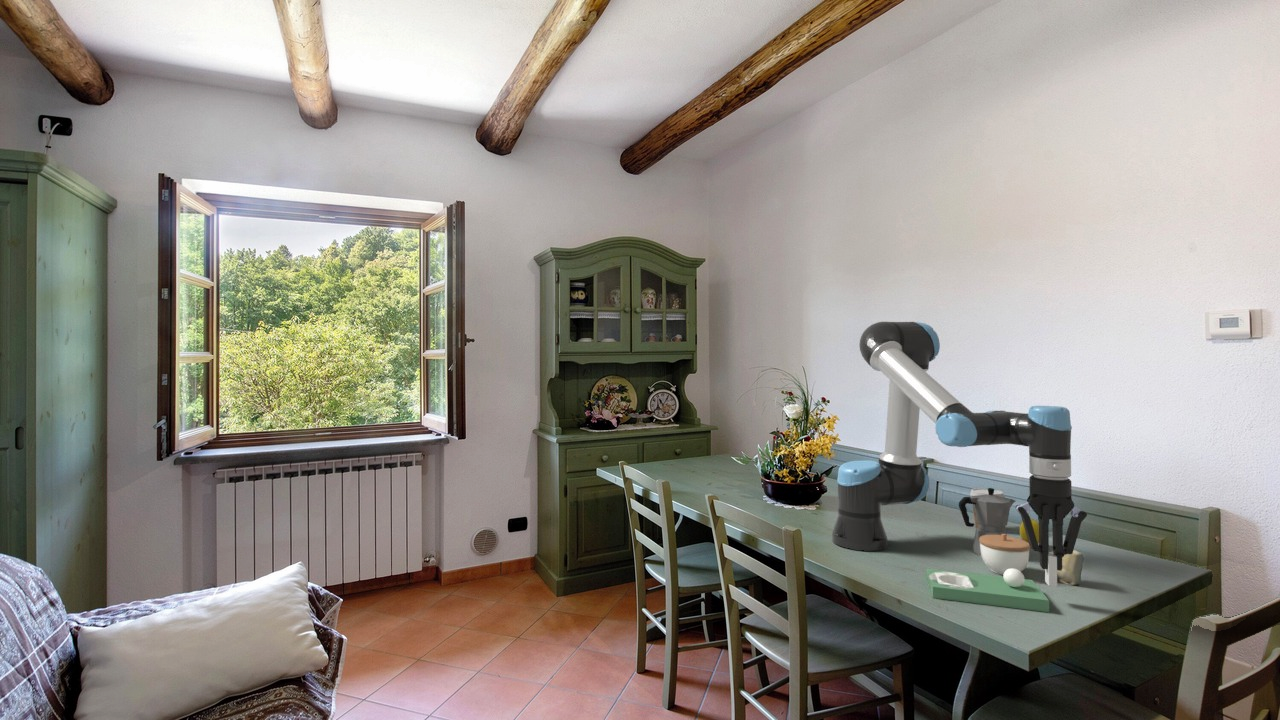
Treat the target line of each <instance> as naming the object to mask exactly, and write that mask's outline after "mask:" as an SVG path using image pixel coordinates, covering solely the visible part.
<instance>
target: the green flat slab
mask: <svg viewBox="0 0 1280 720" xmlns="http://www.w3.org/2000/svg"><path fill="white" fill-rule="evenodd" d="M925 570H926V571H925V572H926V575H925V576H926V582H927V585H928V588H929V590H930V591H929V592H930V594H931V596H932V599H938V600H948V601H954V602H962V603H970V604H971V603H972V604H980V605H988V606H995V607H1004V608H1013V609H1021V610H1028V611H1029V610H1030V611H1034V612H1035V611H1037V612H1043V613H1049V612H1050V600H1049V598H1048V597H1047V596H1046V595H1045V594H1044V592H1043V591H1042V590H1041V589H1040V587H1038V585H1037V583H1035V582H1034V580H1033V579H1027V578H1024V579H1025V581H1024V584H1023V585H1022V586H1020V587H1011V586H1009V585H1008V584H1007V583H1006V582H1005V581H1004V578H1003V576H998V575H990V574H989V575H988V574H979V573H973V572H961V571H955V570H954V571H952V570H941V569H933V568H926V569H925Z"/></svg>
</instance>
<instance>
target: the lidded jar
mask: <svg viewBox="0 0 1280 720" xmlns="http://www.w3.org/2000/svg"><path fill="white" fill-rule="evenodd" d="M979 541H980V551H981V559H982V560H983V562H984V564H985V565H986V566H987V567H988V568H989V570H990V571H991V572H992V573H995V574H997V575H1001V576H1003V574H1004V572H1005V571H1006V570H1007V569H1010V568H1014V569H1017V570H1019V571H1020V572H1021V573H1022V572H1023V571H1024V570H1025V569H1026V567H1027V566H1028V563H1029V558H1030V548H1031V547H1030V545H1029V543H1028V542H1026V541H1024V540H1022V538H1018V537H1014V536H1009V535H1007V536H1006V534H1002V535H983V536H981V537H980V538H979Z"/></svg>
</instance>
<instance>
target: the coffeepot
mask: <svg viewBox="0 0 1280 720" xmlns="http://www.w3.org/2000/svg"><path fill="white" fill-rule="evenodd" d="M987 489H988V493H989V494H987V495H978V496H972V497H971V496H963V497H962V498H961V499H960V501H958V508H959V511H960V514H961V516H962V520H963V521H964V524H965V526H966V527H968V528H969V527H970V528H974V526H975V522H974V523H971V522H970V517H969V513H968V509H967V506H966V505H967V504H969V505H972V506H973V505H974V511H975V517H976V521H977V528H976V527H975V534H974V537H973V545H972V551H973V553H974V552H975V553H974V554H976V555H978V554H979V555H978V556H980V555H981V551H980V541H979V538H980V537H981V536H983V535H1002V534H1006V536H1008V533H1007V530H1006V529H1007V528H1006V526H1008V523H1009V517H1010V516H1009V515H1010V511H1011V510H1010V509H1011V507H1012V506H1013V505H1014V503H1016V499H1013V498H1009V497H1005V498H1004V497H999V496H996V495H993V494H994V490H995V488H992V487H988V488H987ZM974 511H973V512H974Z"/></svg>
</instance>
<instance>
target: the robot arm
mask: <svg viewBox="0 0 1280 720" xmlns="http://www.w3.org/2000/svg"><path fill="white" fill-rule="evenodd" d="M940 342H941V341H940V338H939V335H938V333H937V332H936V330H935V329H934V328H933V327H932V326H931V325H929V324H927V323H925V322H917V321H916V322H915V321H878V322H875V323H872V324H871V325H869V326H868V327H867V328H866V329H864V331H863V333H862V334H861V336H860V339H859V345H858V346H859V351H860V354H861V356H862V358H863V360H864V361H865V362H866V363H867V365H869V366H870V367H871V368H872V369H873V370H874V371H877V372H881V373H882V374H883V375H885V377H886V378H888V379H889V384H888V396H887V397H888V401H887V414H886V415H887V416H886V428H885V441H884V442H885V443H884V444H885V445H884V452H882V453H881V454H879V455H878V461H875V460H868V459H867V460H866V459H865V460H864V459H863V460H851V461H847V462H843V464H841V465H840V466H839V468H838V471H837V478H836V479H837V508H838V509H837V512H838V513H837V517H836V520H835V524H834V526H833V528H832V531H831V532H832V533H831V540H832V543H834V544H835V545H837V546H839V547H841V546H842V548H844V547H845V549H848V548H850V550H853V551H862V550H864V551H863V552H871V551H873V552H875V551H876V552H877V551H882V550H885V549H886V548H887V547H888V536H887V534H886V533H887V532H886V531H885V527H884V524H883V521H882V517H881V509H882V508H881V507H882V506H890V505H892V506H893V505H909V504H911V503H916V502H917V503H918V502H919V501H921V500H923V499H924V498H925V496H926V495H927V494H928V491H929V487H930V477H929V474H927V470H926V468H925V467H924V466H923V465H922V460H921V459H920V457H918V456H917V453H918V452H917V450H918V437H919V436H918V434H919V421H920V410H921V411H922V412H923V413H924V414H925V415H926V416H927V417H928V418H929V419H930V420H931V421H932V422H933V423H935V427H934V429H935V434H936V435H937V439H938V440H939V441H940V442H941V444H943V445H945V446H947V447H958V448H966V447H967V448H968V447H974V446H976V447H977V446H994V445H1016V446H1023V447H1028V452H1029V455H1028V456H1029V458H1028V459H1029V461H1028V462H1029V465H1028V469H1029V473H1030V474H1031V475H1030V476H1029V478H1028V479H1029V480H1028V481H1029V484H1028V485H1029V495H1028V497H1027V499H1026V502H1025V503H1022V504H1017V505H1015V509H1016V511H1017V512H1018V513H1019V515H1020V517H1021V521H1022V522H1023V524H1024V528H1025V531H1026V535H1027V538H1028V542H1029V545H1030V548H1031V550H1032V551H1034V552H1037V553H1039V566H1040V568H1041V569H1042V570H1044V571H1045V572H1044V582H1045V583H1046V584H1047V585H1048V587H1057V588H1058V575H1057V570H1059V571H1061V570H1062V557H1064V555H1066V554H1072V553H1073V550H1075V546H1076V544H1077V539H1078V536H1079V532H1080V528H1081V524H1082V522H1083V521H1084V520H1085V518H1087V516H1088V513H1087V512H1086V511H1085V510H1083V509H1081V508H1078V507H1077V506H1075V503H1074V501H1073V498H1072V495H1073V494H1072V493H1073V492H1072V491H1073V490H1072V480H1071V479H1070V478H1071V476H1072V454H1071V443H1072V428H1073V427H1072V424H1071V413H1070V410H1069V409H1068V408H1067V407H1066V406H1065V407H1064V406H1056V405H1031V406H1030V407H1029V409H1028V413H1024V412H1013V411H1006V410H988V411H985V412H972V411H971V410H970V409H969V408H968V407H966V406H965V405H964V404H963V402H961V401H959V399H957V398H956V397H955V396H954V395H953V394H951V393H950V392H949V391H948V390H947V389H946V388H945V387H943V386H942V384H940V383H939V382H938V381H937V380H935V378H934V377H932V376H931V375H930V374H929V373H928V371H929V366H930V362H932V361H934V360H935V359H936V357H937V356H939V355H938V354H939V352H940V347H941V346H940V345H941V344H940ZM1030 509H1031V510H1032V511H1033V512H1034V513H1035V515H1036V516H1037V520H1038V523H1039V543H1037V540H1036V536H1035V533H1034V529H1033V526H1032V522H1031V519H1030V518H1031V516H1030V514H1031V510H1030ZM1070 512H1071V513H1070ZM1069 513H1070V515H1071V517H1070V519H1069V520H1070V521H1069V523H1068V526H1067V531H1066V534H1065V537H1063V536H1064V532H1063V531H1064V529H1063V526H1064V519H1065V518H1066V517H1067V515H1069ZM1050 520H1051V522H1052V552H1050V547H1049V544H1050V541H1049V539H1050V534H1049V532H1050V531H1049V530H1050V529H1049V525H1050ZM1063 540H1064V541H1063Z"/></svg>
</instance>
